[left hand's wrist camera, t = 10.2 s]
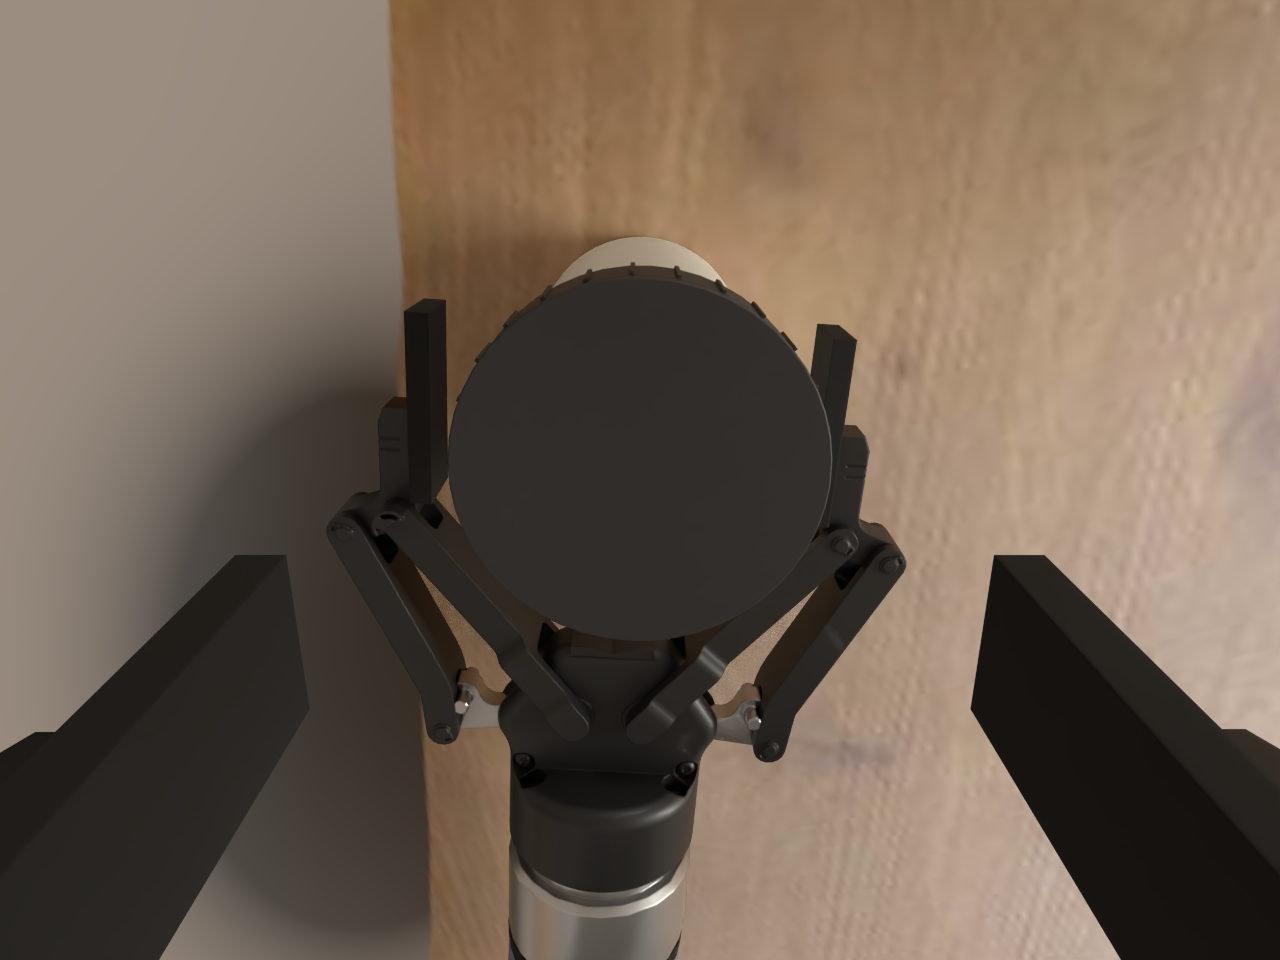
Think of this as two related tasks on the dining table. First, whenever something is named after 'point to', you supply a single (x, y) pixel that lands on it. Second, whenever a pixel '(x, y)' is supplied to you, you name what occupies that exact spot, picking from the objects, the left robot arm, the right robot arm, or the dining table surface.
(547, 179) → the dining table surface
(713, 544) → the lid
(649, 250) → the jar
